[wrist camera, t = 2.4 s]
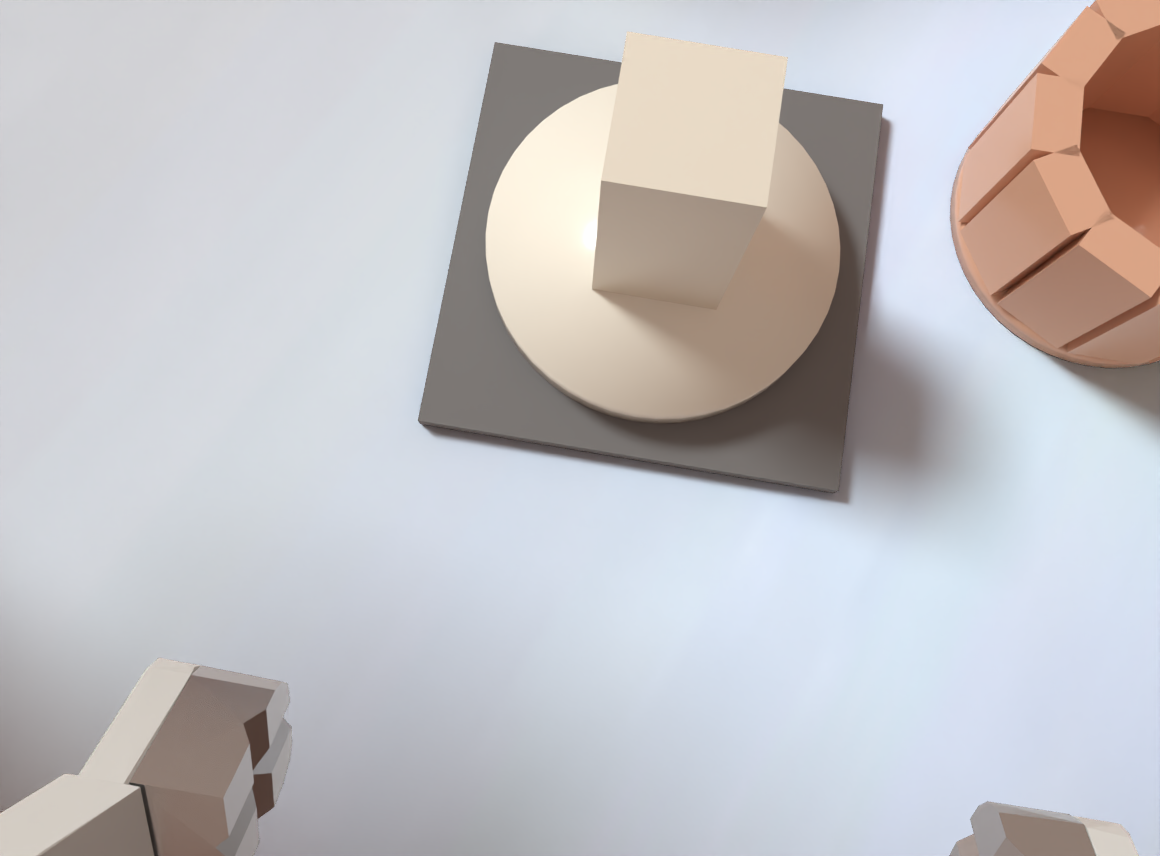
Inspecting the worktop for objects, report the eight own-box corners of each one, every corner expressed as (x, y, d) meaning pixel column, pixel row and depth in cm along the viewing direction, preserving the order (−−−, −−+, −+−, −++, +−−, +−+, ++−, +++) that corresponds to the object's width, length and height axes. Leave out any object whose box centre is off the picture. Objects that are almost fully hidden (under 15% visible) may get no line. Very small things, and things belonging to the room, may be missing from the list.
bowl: (936, 340, 28) (1020, 279, 23) (963, 68, 30) (1047, -47, 25) (1240, 390, 28) (1393, 339, 23) (1250, 113, 30) (1394, 8, 25)
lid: (459, 392, 27) (417, 301, 19) (521, 76, 29) (505, -121, 21) (807, 450, 27) (906, 382, 19) (846, 129, 29) (951, -51, 21)
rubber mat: (420, 423, 28) (417, 420, 27) (495, 51, 30) (494, 42, 29) (833, 492, 27) (838, 490, 27) (877, 113, 30) (883, 104, 29)
